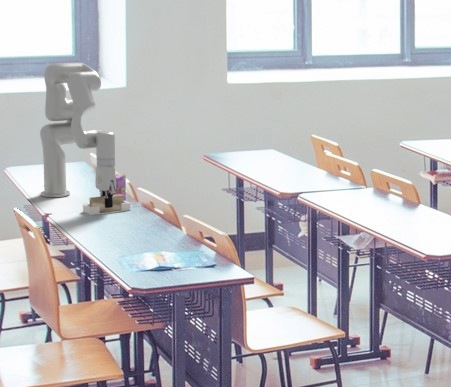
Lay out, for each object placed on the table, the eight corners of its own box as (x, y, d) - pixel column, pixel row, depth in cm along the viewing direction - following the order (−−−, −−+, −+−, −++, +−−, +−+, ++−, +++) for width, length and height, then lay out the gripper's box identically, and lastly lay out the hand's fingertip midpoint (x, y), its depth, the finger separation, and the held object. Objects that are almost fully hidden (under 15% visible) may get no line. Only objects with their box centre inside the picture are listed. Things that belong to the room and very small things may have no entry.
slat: (89, 212, 413) (89, 197, 412) (120, 208, 420) (120, 194, 419) (93, 213, 410) (92, 199, 409) (123, 209, 418) (123, 195, 417)
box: (119, 205, 426) (118, 177, 424) (106, 204, 428) (105, 177, 425) (126, 200, 436) (125, 173, 434) (113, 200, 438) (113, 173, 435)
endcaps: (83, 211, 413) (82, 204, 413) (122, 207, 423) (122, 199, 423) (91, 215, 407) (91, 208, 406) (131, 210, 416) (131, 203, 416)
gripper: (88, 160, 416) (89, 204, 420) (106, 165, 403) (107, 211, 406) (105, 158, 420) (106, 202, 424) (123, 164, 407) (124, 209, 410)
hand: (106, 206), depth 415 cm, fingers closed on slat, 2 cm apart
